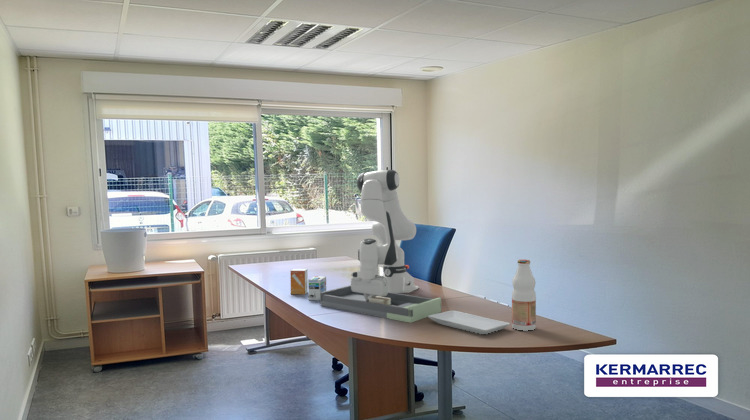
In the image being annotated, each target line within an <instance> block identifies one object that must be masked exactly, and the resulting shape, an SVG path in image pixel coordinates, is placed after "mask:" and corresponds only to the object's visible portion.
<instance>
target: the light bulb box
mask: <svg viewBox="0 0 750 420" xmlns="http://www.w3.org/2000/svg"><path fill="white" fill-rule="evenodd" d="M324 291H327V276H323V275H322V276H320V275H319V276H318V275H317V276H316V275H314V276H312V277H310V278H308V301H320V302H321V300H320V292H324Z"/></svg>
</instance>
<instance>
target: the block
mask: <svg viewBox="0 0 750 420" xmlns="http://www.w3.org/2000/svg"><path fill="white" fill-rule="evenodd" d="M369 302H373V303H378V304H384V305H390V306H391V298H386V297H380V296H376V297H372V298H369Z"/></svg>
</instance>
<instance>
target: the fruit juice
mask: <svg viewBox="0 0 750 420" xmlns="http://www.w3.org/2000/svg"><path fill="white" fill-rule="evenodd" d="M517 265H518V266H517V268H516V272H515V274H514V276H513V278H512V279H511V280H512V281H511V284H512V288H513V289H512V293H511V328H512V329H513V328H514V329H513V330H515V329H517V330H516V331H518V330H523V331H522V332H529V331H528V330H533V331H535V330H536V327H537V326H536V325H537V324H536V323H537V319H536V318H537V316H536V315H537V314H536V313H537V304H536V303H537V297H536V296H537V294H536V291H535V287H536V278H535V277H534V275H533V272H532V271H531V270H532V269H531V260H530V259H518V260H517ZM534 329H535V330H534Z"/></svg>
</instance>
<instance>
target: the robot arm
mask: <svg viewBox="0 0 750 420" xmlns="http://www.w3.org/2000/svg"><path fill="white" fill-rule="evenodd" d="M399 185H400V177H399V173H398V172H397V171H396V170H394V169H385V170H384V169H381V170H380V169H378V170H372V171H367V172H366V171H365V172H362V173H359V175H358V176H357V178H356V186H357V189H358V190H359V191H360V192H361V193H360V212H361V214H362V215H363V216H364V218H366V219H368V220H369V221H371V222H373V224H372V225H371V232H372V235H373V237H374V238H376V239H377V240H376V239H373V238H364V239H363V240H361V241H360V243H359V249H358V250H357V253H358V254H357V257H358V258H357V259H358V261H359V263H360V265H359V270H356V271H354V272H353V271H352V272H351V274H350V275H351V279H350V285H351V290H352V292H358V293H364V297H365V299H366V301H367V302H369V297H368V295H369V294H370V298H372V297H375V295H376V296H382V297H383V296H387V294H388V292H391V293H398V294H409V293H412V292H413V291H416V290H418V289H419V287H420V286H418V285H415V278H414V277H413V276H412V275H411V274H410V273H409V272H408V271H407V270H408V269H410V266H409V264H405V252H404V250H403V248H401V247H400V246H398V244H397V241H410V240H413V239H414V238H415V237H416V234H417V225H416V224H415V223H414V222H413V221H412V220H410V219H409V218H408V217H407V215H405V214H404V212H403V211H402V208H401V205H400V201H399V198H398V192H397V189H398V187H399ZM377 241H378V242H379V244H378V243H377ZM379 265H383V266H382V271H383V274H382V275H379Z"/></svg>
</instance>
